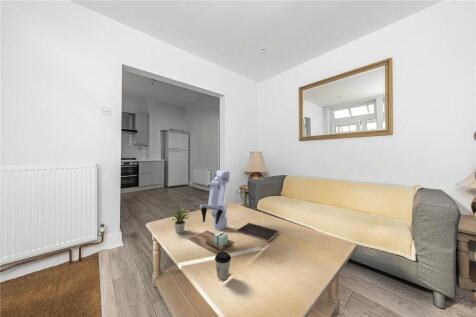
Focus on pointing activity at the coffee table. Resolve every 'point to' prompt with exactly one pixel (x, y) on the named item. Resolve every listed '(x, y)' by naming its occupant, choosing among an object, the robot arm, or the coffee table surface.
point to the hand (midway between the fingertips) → (210, 222)
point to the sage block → (220, 239)
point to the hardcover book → (258, 232)
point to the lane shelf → (209, 242)
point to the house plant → (180, 221)
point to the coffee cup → (222, 265)
